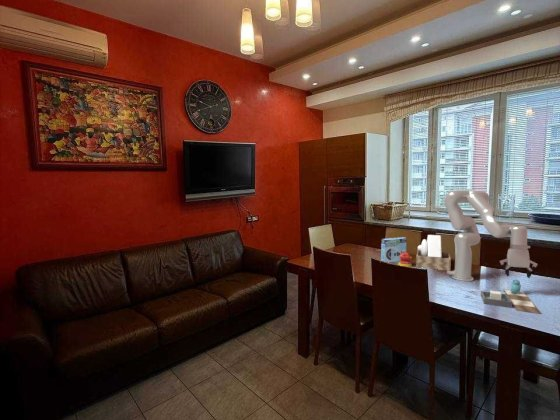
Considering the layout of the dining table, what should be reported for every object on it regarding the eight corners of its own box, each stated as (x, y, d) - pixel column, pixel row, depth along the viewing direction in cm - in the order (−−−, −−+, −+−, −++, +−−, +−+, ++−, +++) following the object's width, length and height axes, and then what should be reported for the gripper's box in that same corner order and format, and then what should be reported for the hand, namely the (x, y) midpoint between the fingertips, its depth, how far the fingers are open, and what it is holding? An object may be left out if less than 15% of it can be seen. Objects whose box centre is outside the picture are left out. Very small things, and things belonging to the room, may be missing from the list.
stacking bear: (411, 281, 199) (412, 255, 197) (395, 279, 204) (396, 253, 202) (414, 276, 208) (414, 251, 206) (398, 274, 213) (399, 250, 212)
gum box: (402, 265, 236) (402, 236, 234) (406, 267, 231) (407, 238, 229) (380, 267, 231) (381, 238, 229) (384, 269, 226) (385, 239, 224)
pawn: (510, 293, 175) (512, 280, 174) (510, 290, 178) (512, 278, 177) (520, 294, 172) (521, 281, 172) (519, 292, 176) (521, 279, 175)
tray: (483, 303, 162) (484, 298, 161) (480, 296, 172) (480, 291, 172) (511, 307, 156) (511, 302, 156) (506, 299, 167) (506, 294, 167)
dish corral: (415, 267, 231) (416, 255, 230) (417, 260, 251) (417, 249, 250) (450, 270, 220) (450, 258, 219) (448, 263, 241) (449, 252, 240)
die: (490, 301, 164) (491, 293, 164) (489, 298, 168) (490, 290, 168) (501, 302, 162) (502, 294, 161) (500, 299, 166) (500, 291, 165)
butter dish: (441, 257, 223) (417, 255, 229) (438, 264, 238) (416, 262, 244) (440, 235, 230) (418, 234, 236) (438, 243, 245) (417, 242, 251)
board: (516, 310, 153) (516, 309, 153) (503, 289, 181) (503, 289, 181) (541, 314, 148) (541, 313, 148) (524, 292, 177) (524, 292, 177)
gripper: (535, 247, 172) (534, 276, 173) (498, 245, 180) (498, 273, 181) (539, 249, 165) (538, 280, 167) (501, 247, 173) (500, 276, 174)
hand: (517, 276), depth 174 cm, fingers open, 9 cm apart
